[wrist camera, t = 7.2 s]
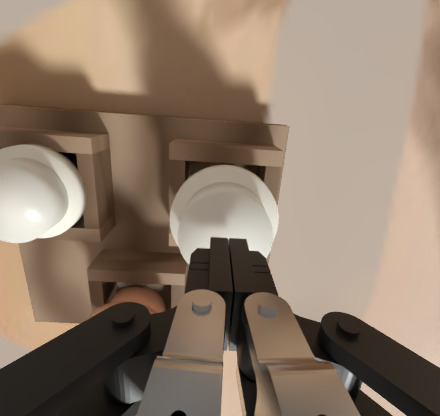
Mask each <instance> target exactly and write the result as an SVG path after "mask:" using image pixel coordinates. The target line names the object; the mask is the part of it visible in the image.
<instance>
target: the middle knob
mask: <svg viewBox="0 0 440 416" xmlns="http://www.w3.org/2000/svg"><path fill="white" fill-rule="evenodd" d="M123 302H135V303H139V304H142V305H144V306H145V307H146V308H147V309H148V310H149V312H150V314H155V313H159V312H164V311H167V307H166V303H165V301H164V299H163V297H162V296H161V295H160V294H159V293H158V292H156V291H155V290H153V289H151V288H149V287H146V286H142V285H131V286H127V287H124V288H122V289H120V290H119V291H118V292H116V293H115V295H114V296H113V298H112V300H111V302H110V303H108V304H105V305H102V306H101V307H99V308H97V309H96V310H94V311H93V312H92V313H91V315H90V316H89V317H88V319H89V318H91V317H93V316H95V315H96V314H98V313H100V312H102V311H103V310H105V309H107V308H109V307H111V306H113V305H116V304H119V303H123ZM88 319H87V320H88Z"/></svg>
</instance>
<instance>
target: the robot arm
mask: <svg viewBox="0 0 440 416" xmlns="http://www.w3.org/2000/svg"><path fill="white" fill-rule="evenodd" d="M227 344H229V350H230V351H237V368H236V377H237V384H238V390H239V396H240V403H241V409H242V416H392V415H391V414H390V413H389V412H387V411H386V410H385V409H384V408H382V407H381V406H380V405H379V404H377V403H376V402H375V401H374V400H372V399H371V398H370V397H368V396H367V395H366V394H365V393H363V392H362V391H361V390H360V388H361V385H362V382H364V383H365V384H366V385H368V386H369V387H370V388H372V389H373V390H374V391H375V392H377V393H378V394H379V395H381V396H382V397H383V398H385V399H386V400H387V401H388V402H390V403H391V404H392V405H394V406H395V407H396V408H398V409H399V410H400V411H401V412H403V413H404V414H405V415H407V416H440V368H439V367H437V366H436V365H434V364H432V363H431V362H429V361H427V360H426V359H424V358H422V357H421V356H419V355H418V354H416V353H414V352H413V351H411V350H409V349H408V348H406V347H404V346H403V345H401V344H399V343H398V342H396V341H395V340H393V339H391V338H390V337H388V336H386V335H385V334H383V333H381V332H380V331H378V330H376V329H375V328H373V327H371V326H370V325H368V324H367V323H365V322H363V321H362V320H360V319H358V318H356V317H354V316H352V315H350V314H346V313H342V312H330V313H327V314H325V315H324V316H323V318H322V321H321V323H320V322H316V321H313V320H309V319H306V318H303V317H300V316H298V315H295V314H294V313H293V312H292V310H291V308H290V306H289V304H288V303H287V302H286V301H285V300H284V299H282V298H280V297H279V296H278V293H277V290H276V287H275V284H274V281H273V278H272V275H271V274H270V269H269V267H268V263H267V260H266V258H265V257H264V256H263V255H262V254H261V253H260V252H259V251H249V248H248V243H247V239H240V238H229V240H228V238H220V237H211V238H210V249H208V248H197V249H196V250H195V251H194V252H193V253H192V254H191V257H190V263H189V270H188V275H187V282H186V288H185V294H184V295H183V296H182V297H181V298H180V300H179V302H178V305H177V306H175V307H174V308H172V309H170V310H167V311H164V312H159V313H155V314H150V312H149V310H148V309H147V308H146V307H145V306H144V305H142V304H139V303H135V302H123V303H119V304H116V305H113V306H111V307H109V308H107V309H105V310H103V311H102V312H100V313H98V314H96V315H95V316H93V317H91V318H89V319H88V320H86V321H84V322H82V323H81V324H79V325H77V326H75V327H74V328H72V329H70V330H68V331H67V332H65V333H63V334H61V335H60V336H58V337H56V338H54V339H52V340H51V341H49V342H47V343H45V344H44V345H42V346H40V347H38V348H37V349H35V350H33V351H31V352H30V353H28V354H26V355H25V356H23V357H21V358H19V359H17V360H16V361H14V362H12V363H10V364H9V365H7V366H5V367H3V368H1V369H0V416H221V397H222V378H223V352H224V350H227Z"/></svg>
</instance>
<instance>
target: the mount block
mask: <svg viewBox="0 0 440 416" xmlns="http://www.w3.org/2000/svg"><path fill="white" fill-rule="evenodd" d="M288 132H289V126H286V125H278V124H264V123H250V122H237V121H223V120H209V119H196V118H182V117H168V116H155V115H141V114H127V113H114V112H100V111H86V110H73V109H59V108H45V107H32V106H18V105H4V104H0V149H2V148H6V147H10V146H15V145H21V144H38V145H42V146H46V147H49V148H51V149H53V150H55V151H57V152H66V153H72V154H74V155H75V156H77V165H78V171H79V173H80V174H81V176H82V178H83V180H84V183H85V186H86V191H87V204H86V208H85V211H84V213H83V215H82V216H81V218H80V219H79V220H78V221H77V222H76V223H75V224H74V225H73V226H71V227H70V228H69V229H68V230H67V231H65V232H64V233H62V234H60V235H57V236H54V237H50V238H36V239H34V240H32V241H29V242H25V243H19V248H20V253H21V257H22V262H23V267H24V271H25V276H26V281H27V285H28V290H29V295H30V299H31V304H32V309H33V313H34V318H35V321H38V322H60V323H82V322H84V321H86V320H87V319H88V317H89V316H90V315H91V313H92V312H93V311H94V310H96V309H97V308H99V307H101V306H102V305H105V304H108V303H110V302H111V300H112V298H113V296H114V295H115V293H116V292H118V291H119V290H120V289H122V288H124V287H127V286H131V285H142V286H146V287H149V288H151V289H153V290H155V291H156V292H158V293H159V294H160V295H161V296H162V297H163V299H164V301H165V303H166V307H167V310H170V309H172V308H174V307H175V306H177V305H178V302H179V300H180V298H181V297H182V296H183V295H184V294H185V288H186V282H187V275H188V270H189V264H188V263H187V262H186V261H185V259H184V258H183V256H182V254H181V252H180V249H179V247H178V245H177V244H176V242H175V240H174V238H173V235H172V233H171V228H170V211H171V206H172V203H173V201H174V198H175V196H176V194H177V192H178V190H179V189H180V187H181V186H182V185H183V183H184V182H185V181H186V180H187V179H188V178H189V177H190V176H192V175H193V174H194V173H196V172H198V171H200V170H202V169H204V168H207V167H211V166H215V165H233V166H238V167H241V168H244V169H246V170H249V171H250V172H252V173H254V174H255V175H256V176H258V177H259V178H260V179H261V180H262V181H263V182H264V183H265V184H266V186H267V187H268V189H269V190H270V192H271V193H272V195H273V197H274V199H275V201H276V204H278V197H279V191H280V184H281V178H282V171H283V165H284V158H285V152H286V145H287V138H288ZM269 256H270V253H269V255H268V256H267V258H266V260H267V263H268V262H269Z"/></svg>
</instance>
